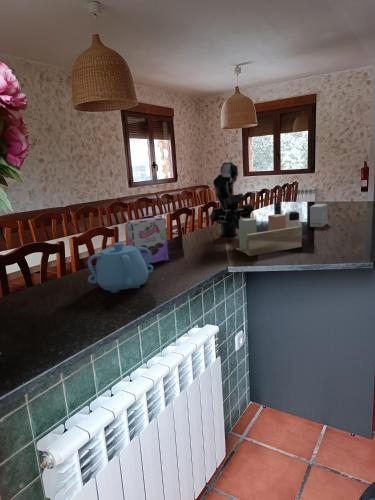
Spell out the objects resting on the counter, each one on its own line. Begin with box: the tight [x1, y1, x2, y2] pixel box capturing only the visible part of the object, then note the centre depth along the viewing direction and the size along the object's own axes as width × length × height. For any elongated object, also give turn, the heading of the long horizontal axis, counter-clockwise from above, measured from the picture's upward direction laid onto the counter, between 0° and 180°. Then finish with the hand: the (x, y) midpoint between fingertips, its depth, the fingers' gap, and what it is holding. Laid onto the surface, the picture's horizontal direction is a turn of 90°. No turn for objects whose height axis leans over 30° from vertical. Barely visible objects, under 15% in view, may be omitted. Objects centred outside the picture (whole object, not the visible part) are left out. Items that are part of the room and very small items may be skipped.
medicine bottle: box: [284, 210, 303, 228], centre depth 153 cm, size 7×7×12 cm
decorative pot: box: [87, 241, 154, 294], centre depth 106 cm, size 16×16×14 cm
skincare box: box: [309, 203, 328, 228], centre depth 180 cm, size 10×6×10 cm, turn 145°
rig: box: [235, 226, 303, 257], centre depth 140 cm, size 12×24×8 cm, turn 112°
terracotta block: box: [267, 213, 286, 231], centre depth 145 cm, size 5×5×12 cm
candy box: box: [126, 216, 170, 265], centre depth 131 cm, size 14×6×16 cm, turn 117°
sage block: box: [238, 217, 258, 251], centre depth 140 cm, size 5×5×12 cm
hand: (239, 228), depth 145 cm, fingers closed
